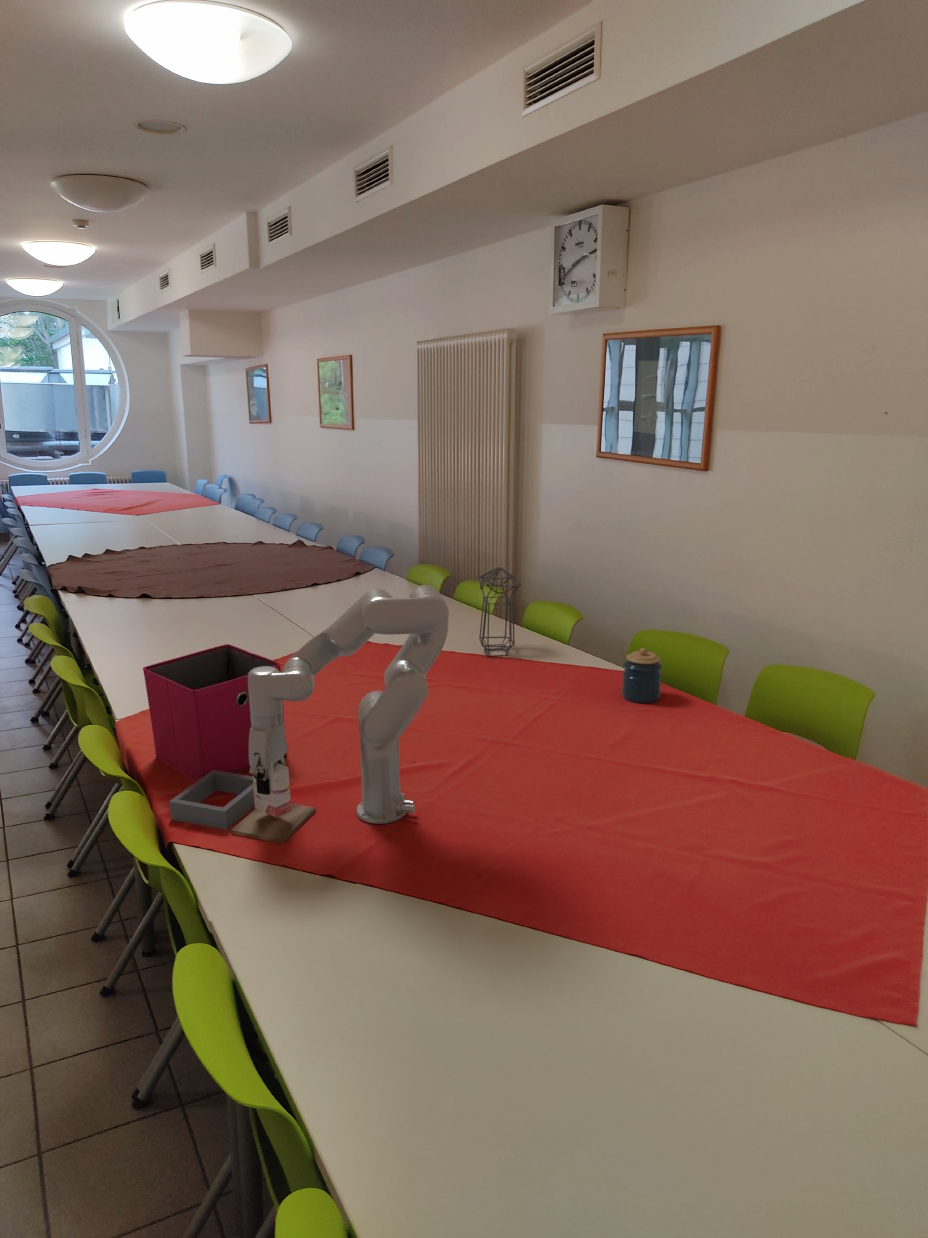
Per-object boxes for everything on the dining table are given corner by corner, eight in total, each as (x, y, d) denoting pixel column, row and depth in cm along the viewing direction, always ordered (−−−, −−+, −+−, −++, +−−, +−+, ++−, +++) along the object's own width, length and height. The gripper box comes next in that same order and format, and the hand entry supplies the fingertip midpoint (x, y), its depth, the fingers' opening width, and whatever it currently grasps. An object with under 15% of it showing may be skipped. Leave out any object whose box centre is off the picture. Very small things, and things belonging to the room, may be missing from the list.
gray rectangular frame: (266, 796, 214) (265, 778, 213) (226, 830, 198) (224, 811, 197) (214, 787, 219) (212, 770, 218) (171, 819, 203) (169, 801, 202)
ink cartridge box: (292, 811, 200) (289, 755, 196) (276, 819, 196) (272, 762, 192) (270, 800, 205) (266, 746, 201) (253, 807, 201) (249, 753, 197)
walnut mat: (315, 811, 207) (315, 807, 207) (282, 843, 192) (282, 840, 192) (267, 802, 211) (267, 799, 211) (231, 833, 197) (230, 830, 196)
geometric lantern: (474, 647, 334) (476, 563, 325) (512, 647, 336) (516, 563, 327) (479, 659, 319) (482, 571, 310) (519, 659, 321) (523, 571, 312)
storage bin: (203, 790, 218) (193, 690, 210) (151, 759, 236) (139, 665, 228) (290, 756, 237) (284, 663, 230) (235, 729, 256) (228, 642, 248)
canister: (657, 690, 287) (660, 642, 282) (662, 704, 274) (665, 654, 270) (619, 689, 288) (622, 641, 283) (623, 703, 276) (625, 653, 271)
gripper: (272, 703, 203) (276, 769, 208) (232, 730, 187) (237, 801, 192) (299, 707, 201) (302, 774, 206) (260, 734, 185) (265, 806, 190)
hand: (271, 786), depth 199 cm, fingers closed on ink cartridge box, 6 cm apart
